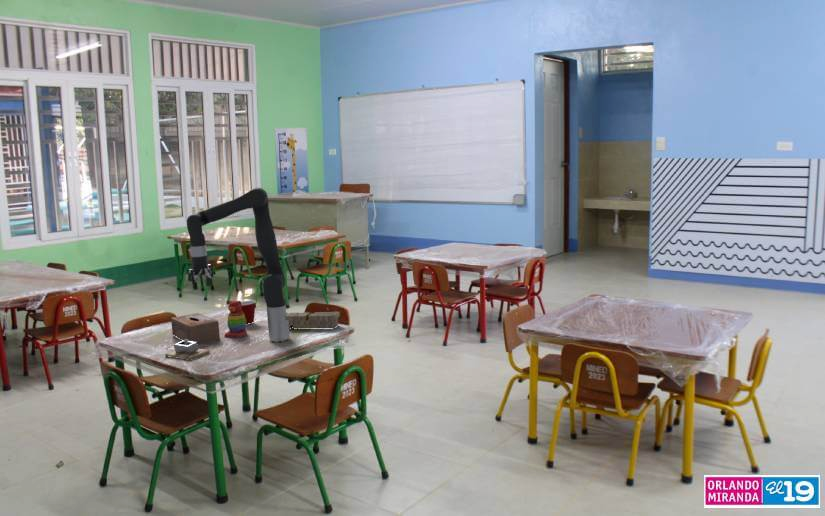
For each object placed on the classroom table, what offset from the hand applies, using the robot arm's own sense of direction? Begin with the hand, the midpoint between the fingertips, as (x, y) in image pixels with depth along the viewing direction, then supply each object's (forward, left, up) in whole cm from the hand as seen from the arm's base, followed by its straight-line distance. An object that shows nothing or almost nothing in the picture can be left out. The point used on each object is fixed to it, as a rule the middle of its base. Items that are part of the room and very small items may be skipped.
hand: (202, 287), depth 352 cm
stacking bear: (-3, -18, -28) cm, 34 cm away
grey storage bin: (-5, +18, -26) cm, 32 cm away
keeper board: (-5, +18, -28) cm, 34 cm away
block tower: (-32, -42, -29) cm, 60 cm away
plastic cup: (+8, -38, -28) cm, 48 cm away
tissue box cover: (+14, -6, -29) cm, 32 cm away
